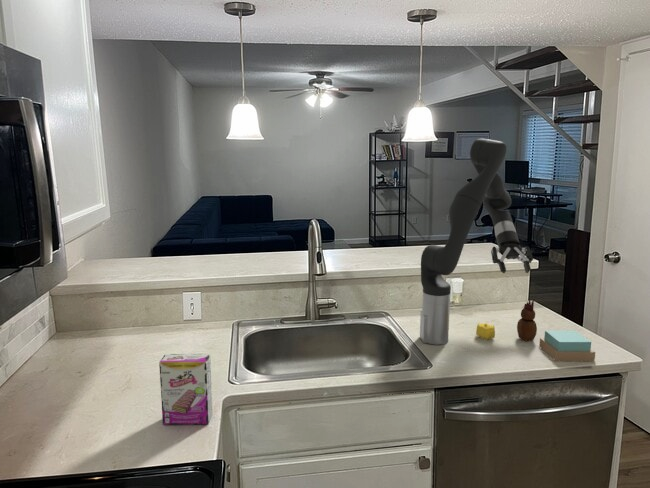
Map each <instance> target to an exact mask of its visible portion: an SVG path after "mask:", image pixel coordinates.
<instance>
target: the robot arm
mask: <svg viewBox="0 0 650 488" xmlns="http://www.w3.org/2000/svg"><path fill="white" fill-rule="evenodd" d="M506 153H507V145H506V143H505V142H504V141H501V140H494V139H488V138H476V139H475V140H474V141H473V143H472V144H471V145H470V152H469V158H470V161H471V163H472V165H473V167H474V168H475V170H476V173H477V174H478V175H477V176H476V177H475V178H473V179H472V180H471V181H469V182H468V183H466V184H465V185H464V186H462V187H461V188H460V189H459V190H457V192H456V193H455V195H454V198H453V200H452V201H451V204H450V207H449V210H448V218H449V219H448V220H449V225H450V232H449V235H448V238H447V240H446V243H445V245H444V246H440V245H436V244H430V245H427V246H426V247H425V248H424V250H422V253H421V257H420V283H421V286H422V308H421V311H420V319H419V320H420V321H419V338H420V340H421V341H422V343H423V344H430V345H436V346H437V345H438V346H439V345H444V344H447V343H448V342H449V335H450V334H449V329H450V312H451V311H450V309H451V290H452V289H451V288H452V287H451V284H450V283H449V282H448V281H446V279H444V277H443V276H449V275H451V274H452V273H453V272H454V270H455V269H456V267H457V265H458V264H459V261H460V258H461V254H462V251H463V249H464V245H465V243H466V241H467V238H468V235H469V233H470V230H471V228H472V226H473V224H474V221H475V219H476V217H477V216H478V213H479V211H480V208H481V207H482V206H483V207H484V208H485V211H487V214H488V215H489V216H490V218H491V221H492V224H493V228H494V236H495V239H496V243H497V247H495V246H493V247H492V248H491V250H490V253H491V260H492V263H493V264H497V265H498V267H499V271H500V272H501V273H502V274H505V273H507V269H506V265H505V262H504V261H505V259H507V260H518V261H519V262H521V263H522V265H523V268H524V272H525V274H529V273H530V271H531V265H530V264H531V263H532V261H533V260H534V256H533V254H532V250H531V248H530V246H529V245H527V246H525V247H521V245H520V240H519V237H518V234H517V231H516V227H515V225H514V222H513V218H512V215H511V212H510V211H509V210H506V209H509V208H510V207H511V205H512V202H513V201H512V198H511V195H510V194H509V192H508V191H507V190H506V189H505V186H504V181H503V178H502V176H501V175H500V173H499V172H498V171H499V170H500V168H501V166H502V163H503V162H504V160H505V156H506V155H507V154H506ZM482 204H483V205H482ZM498 253H499V254H500V255H501V257H500V258H499V257H498Z"/></svg>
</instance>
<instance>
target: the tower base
mask: <svg viewBox="0 0 650 488" xmlns="http://www.w3.org/2000/svg"><path fill="white" fill-rule="evenodd" d="M538 346H539V347H540V349H542V350H543V351H544V352H545V353H546V354H547V355H548V356H549V357H551V358H552V360H554V361H555V362H595V358H596V352H595V350H593V349H592V341H591V340H590V339H588V338H586V337H585V336H584V335H582V334H581V333H579V332H578V331H576V330H544V337H540V338H539V345H538Z"/></svg>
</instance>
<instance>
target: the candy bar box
mask: <svg viewBox="0 0 650 488" xmlns="http://www.w3.org/2000/svg"><path fill="white" fill-rule="evenodd" d="M158 364H159V377H160V378H159V380H160V381H159V382H160V393H161V394H160V395H161V397H160V398H161V399H160V401H161V412H162V413H161V414H162V415H161V416H162V425H163V426H168V425H169V426H173V425H174V426H176V425H177V426H178V425H179V426H181V425H182V426H183V425H184V426H185V425H186V426H188V425H209V424H210V421H211V418H212V416H213V395H212V394H213V393H212V368H211V367H212V366H211V354H210V353H178V354H177V353H164V355H163V357H162V358H161V359H160V360H159V363H158Z"/></svg>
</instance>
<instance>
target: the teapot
mask: <svg viewBox="0 0 650 488" xmlns="http://www.w3.org/2000/svg"><path fill="white" fill-rule="evenodd" d="M475 329H476V331H475V335H476V336H478V339H479V338H480V339H483V341H487V340H493V339H495V338H496V337H495V336H496V329H495V325H491V324H489V323H477V325H476V328H475Z"/></svg>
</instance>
